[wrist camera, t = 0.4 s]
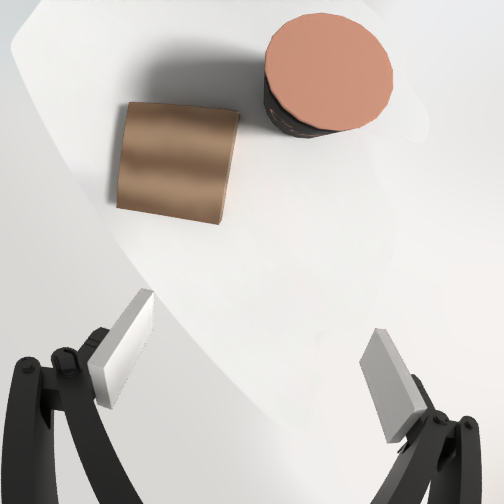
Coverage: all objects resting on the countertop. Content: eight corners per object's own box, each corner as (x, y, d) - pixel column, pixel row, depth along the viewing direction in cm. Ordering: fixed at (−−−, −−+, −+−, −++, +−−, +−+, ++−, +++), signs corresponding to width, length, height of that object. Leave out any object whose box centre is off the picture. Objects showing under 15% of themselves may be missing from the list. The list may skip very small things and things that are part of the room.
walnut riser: (137, 104, 37) (129, 102, 34) (239, 114, 37) (238, 111, 34) (125, 203, 42) (116, 207, 39) (221, 219, 42) (218, 224, 39)
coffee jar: (256, 129, 38) (251, 113, 21) (271, 58, 34) (277, -1, 17) (332, 147, 38) (382, 147, 21) (346, 77, 35) (400, 37, 18)
